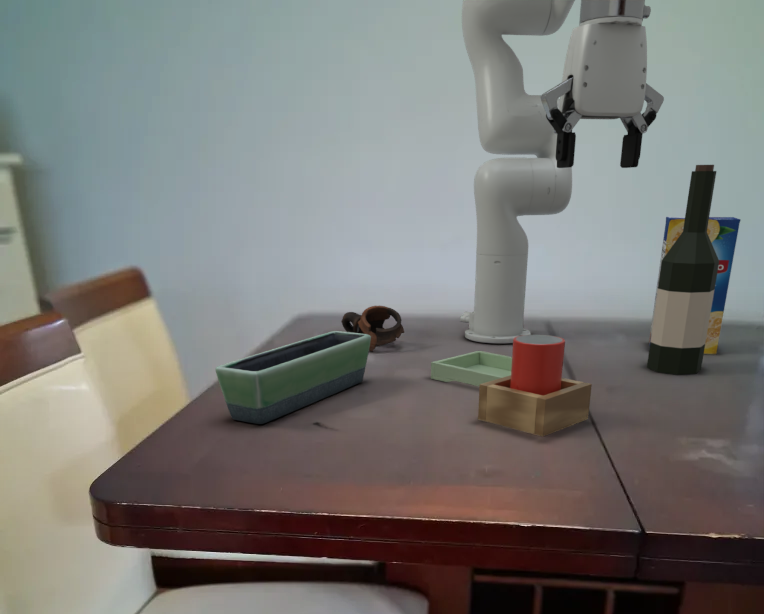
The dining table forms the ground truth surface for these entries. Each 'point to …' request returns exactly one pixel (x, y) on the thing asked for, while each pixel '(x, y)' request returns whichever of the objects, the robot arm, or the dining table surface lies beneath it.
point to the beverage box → (724, 244)
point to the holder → (534, 406)
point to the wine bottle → (686, 286)
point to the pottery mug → (374, 325)
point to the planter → (293, 375)
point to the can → (537, 363)
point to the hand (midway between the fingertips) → (597, 167)
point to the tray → (472, 368)
